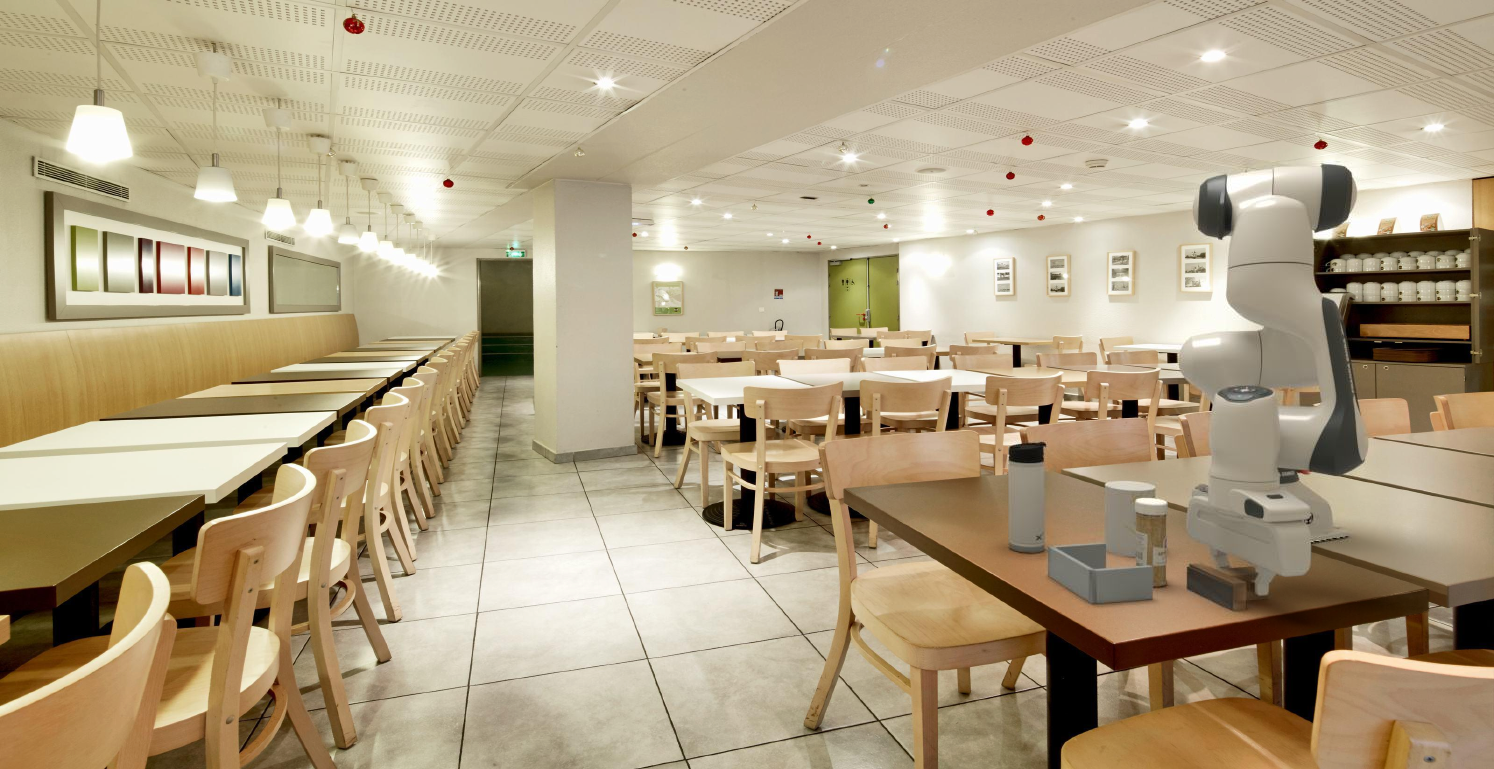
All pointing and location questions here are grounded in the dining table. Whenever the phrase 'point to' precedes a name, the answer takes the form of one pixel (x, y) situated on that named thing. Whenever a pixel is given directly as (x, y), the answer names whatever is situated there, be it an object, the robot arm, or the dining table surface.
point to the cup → (1123, 514)
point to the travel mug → (1026, 497)
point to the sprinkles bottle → (1152, 536)
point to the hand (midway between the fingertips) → (1241, 585)
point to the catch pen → (1098, 574)
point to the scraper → (1223, 584)
